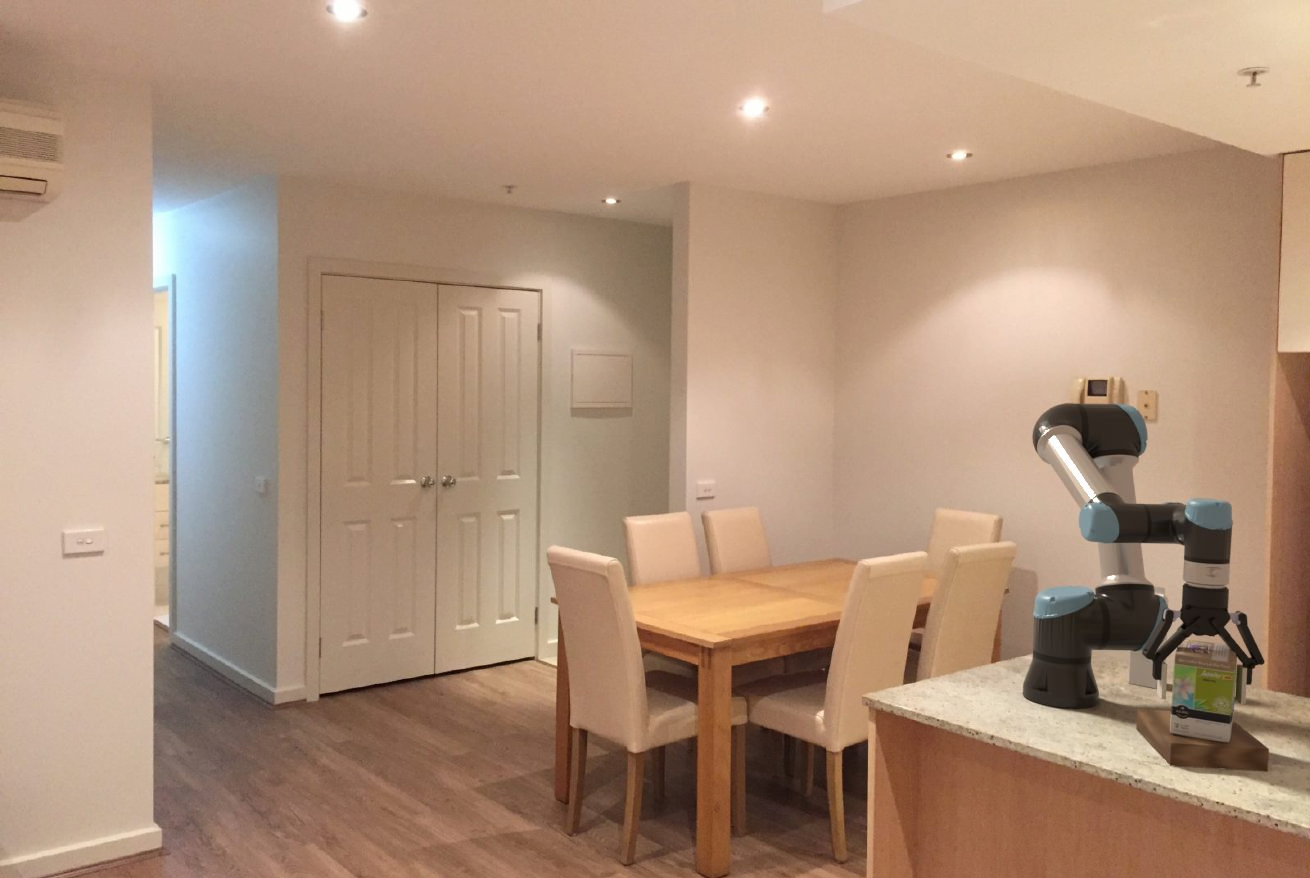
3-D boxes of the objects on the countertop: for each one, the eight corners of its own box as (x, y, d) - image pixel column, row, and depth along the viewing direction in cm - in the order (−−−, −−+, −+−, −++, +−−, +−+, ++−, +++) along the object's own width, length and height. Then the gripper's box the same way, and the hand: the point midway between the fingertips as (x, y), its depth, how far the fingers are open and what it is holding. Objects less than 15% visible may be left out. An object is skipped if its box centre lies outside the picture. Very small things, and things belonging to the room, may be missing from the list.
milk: (1156, 689, 238) (1160, 589, 237) (1127, 683, 242) (1132, 585, 241) (1165, 683, 243) (1169, 586, 241) (1137, 678, 247) (1141, 582, 245)
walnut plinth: (1170, 765, 190) (1171, 743, 190) (1136, 729, 210) (1137, 709, 209) (1267, 771, 188) (1268, 748, 187) (1224, 734, 207) (1225, 714, 207)
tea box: (1232, 744, 189) (1236, 661, 188) (1168, 734, 194) (1172, 653, 193) (1234, 721, 202) (1237, 643, 202) (1174, 713, 207) (1177, 636, 206)
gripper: (1139, 585, 195) (1134, 701, 196) (1288, 591, 191) (1282, 709, 193) (1127, 577, 202) (1123, 689, 204) (1270, 583, 199) (1265, 697, 200)
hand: (1200, 699), depth 198 cm, fingers open, 13 cm apart
